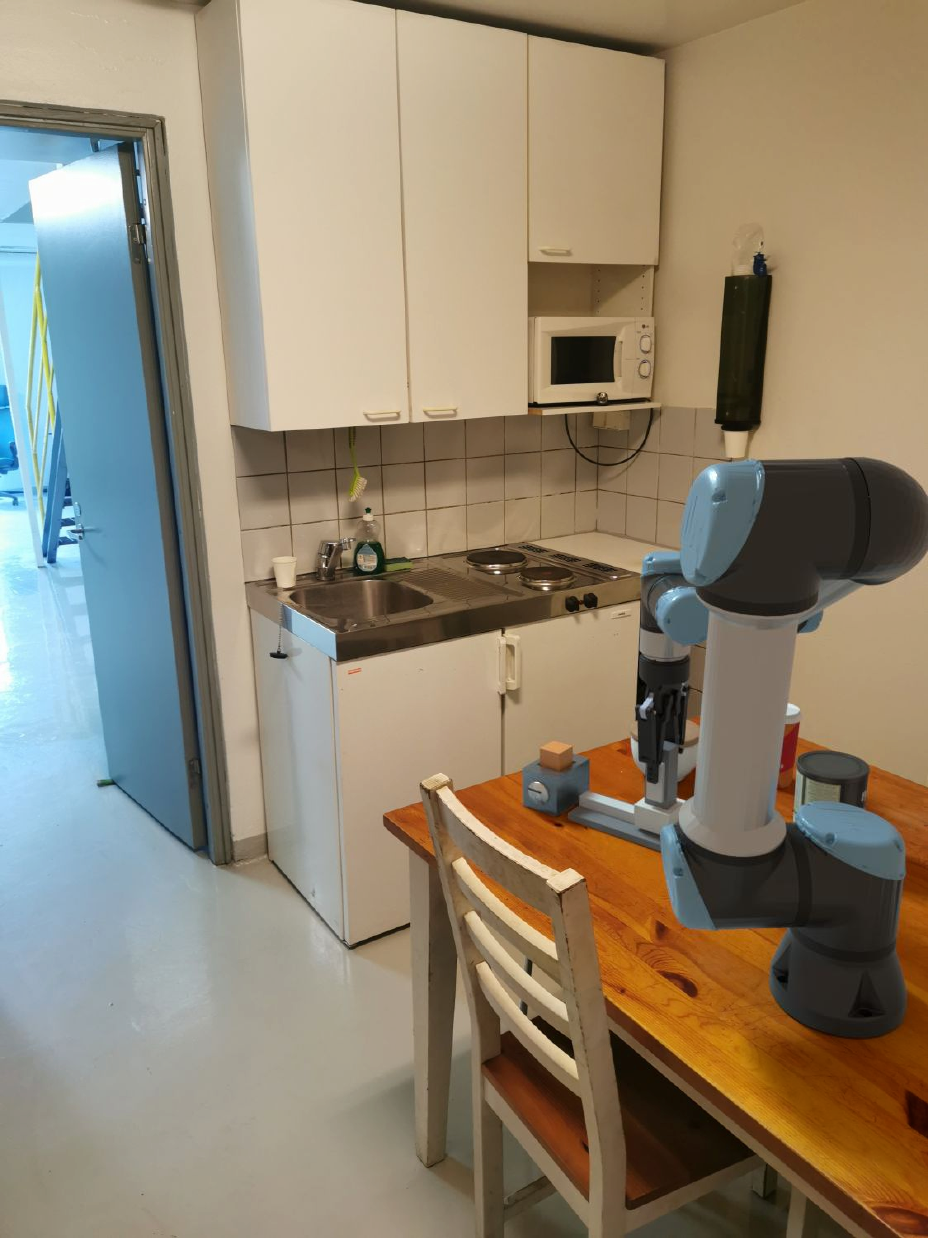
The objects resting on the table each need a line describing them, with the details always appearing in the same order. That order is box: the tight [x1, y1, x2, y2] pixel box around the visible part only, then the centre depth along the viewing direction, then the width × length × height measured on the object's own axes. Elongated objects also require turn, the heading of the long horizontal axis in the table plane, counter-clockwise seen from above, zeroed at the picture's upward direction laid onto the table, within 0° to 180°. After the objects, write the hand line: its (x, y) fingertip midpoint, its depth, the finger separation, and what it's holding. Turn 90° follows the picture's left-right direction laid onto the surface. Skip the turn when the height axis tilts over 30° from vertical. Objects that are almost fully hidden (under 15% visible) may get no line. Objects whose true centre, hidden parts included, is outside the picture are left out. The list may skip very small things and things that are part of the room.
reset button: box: [539, 740, 574, 772], centre depth 157 cm, size 4×4×4 cm
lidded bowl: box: [629, 719, 700, 783], centre depth 166 cm, size 13×13×11 cm
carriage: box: [633, 741, 686, 834], centre depth 144 cm, size 6×6×14 cm
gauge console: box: [522, 753, 591, 818], centre depth 158 cm, size 11×7×7 cm, turn 140°
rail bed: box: [567, 790, 678, 853], centre depth 150 cm, size 9×19×3 cm, turn 50°
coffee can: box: [792, 749, 871, 822], centre depth 140 cm, size 10×10×14 cm
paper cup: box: [777, 702, 803, 790], centre depth 162 cm, size 8×8×14 cm
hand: (660, 795), depth 145 cm, fingers closed on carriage, 3 cm apart
